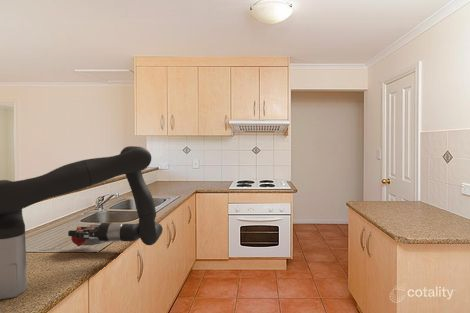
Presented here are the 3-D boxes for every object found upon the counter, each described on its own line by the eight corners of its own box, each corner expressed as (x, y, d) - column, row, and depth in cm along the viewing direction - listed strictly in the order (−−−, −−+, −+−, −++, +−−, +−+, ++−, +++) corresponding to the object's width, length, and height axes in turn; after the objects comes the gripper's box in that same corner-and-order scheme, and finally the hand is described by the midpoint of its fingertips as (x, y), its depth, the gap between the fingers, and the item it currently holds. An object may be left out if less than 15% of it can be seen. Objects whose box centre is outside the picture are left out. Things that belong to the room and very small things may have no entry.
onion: (74, 244, 135) (74, 225, 135) (89, 244, 136) (88, 225, 136) (69, 248, 130) (68, 228, 130) (83, 247, 130) (83, 228, 130)
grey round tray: (109, 242, 143) (109, 237, 143) (83, 245, 139) (83, 239, 139) (108, 236, 152) (108, 231, 152) (84, 238, 148) (84, 233, 148)
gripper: (120, 219, 138) (82, 218, 140) (103, 227, 124) (62, 226, 126) (120, 236, 139) (82, 235, 140) (103, 246, 124) (62, 245, 126)
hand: (73, 231), depth 133 cm, fingers closed on onion, 5 cm apart
